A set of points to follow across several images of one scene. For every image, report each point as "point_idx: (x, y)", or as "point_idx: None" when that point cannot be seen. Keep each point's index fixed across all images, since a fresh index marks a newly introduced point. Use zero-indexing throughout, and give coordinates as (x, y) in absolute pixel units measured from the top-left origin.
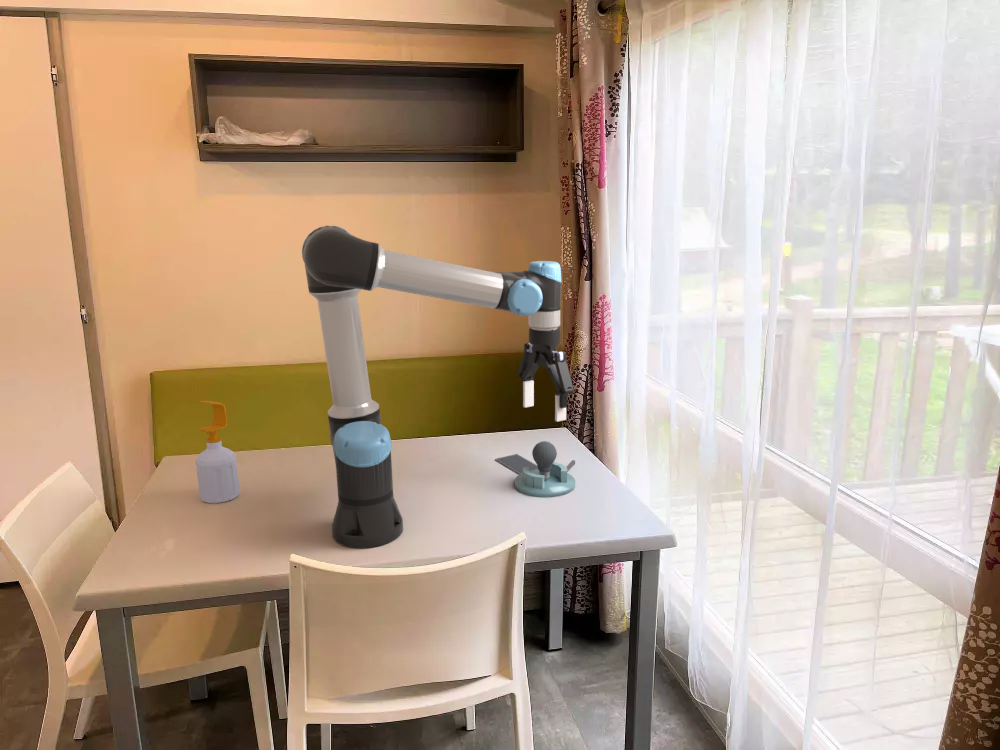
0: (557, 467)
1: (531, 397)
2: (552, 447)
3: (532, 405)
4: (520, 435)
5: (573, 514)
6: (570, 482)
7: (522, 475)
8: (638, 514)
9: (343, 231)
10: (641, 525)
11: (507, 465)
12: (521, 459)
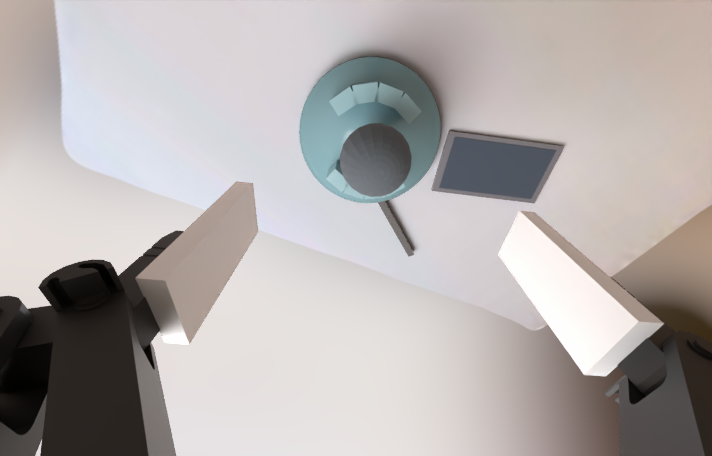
0: None
1: (526, 273)
2: (349, 178)
3: (501, 250)
4: None
5: (201, 72)
6: (324, 175)
7: (428, 117)
8: (154, 180)
9: None
10: (105, 149)
11: (510, 142)
12: (504, 189)
